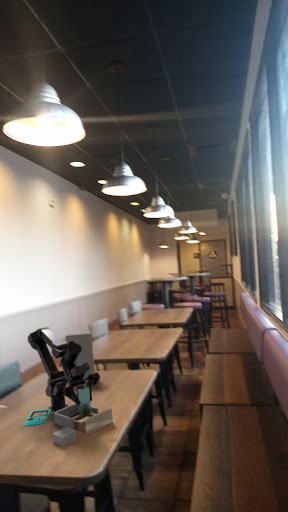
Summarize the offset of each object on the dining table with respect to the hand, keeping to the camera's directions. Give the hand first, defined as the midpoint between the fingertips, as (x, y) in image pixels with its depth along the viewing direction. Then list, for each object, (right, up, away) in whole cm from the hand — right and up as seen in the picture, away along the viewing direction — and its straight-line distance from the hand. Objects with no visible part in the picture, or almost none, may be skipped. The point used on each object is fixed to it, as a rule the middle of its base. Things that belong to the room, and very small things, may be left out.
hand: (85, 402), depth 143 cm
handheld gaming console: (-22, -11, +12) cm, 27 cm away
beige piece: (+2, -8, -1) cm, 8 cm away
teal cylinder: (0, -5, +1) cm, 5 cm away
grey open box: (-4, -9, +5) cm, 11 cm away
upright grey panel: (-11, -11, +60) cm, 62 cm away
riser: (-5, -9, -12) cm, 16 cm away
